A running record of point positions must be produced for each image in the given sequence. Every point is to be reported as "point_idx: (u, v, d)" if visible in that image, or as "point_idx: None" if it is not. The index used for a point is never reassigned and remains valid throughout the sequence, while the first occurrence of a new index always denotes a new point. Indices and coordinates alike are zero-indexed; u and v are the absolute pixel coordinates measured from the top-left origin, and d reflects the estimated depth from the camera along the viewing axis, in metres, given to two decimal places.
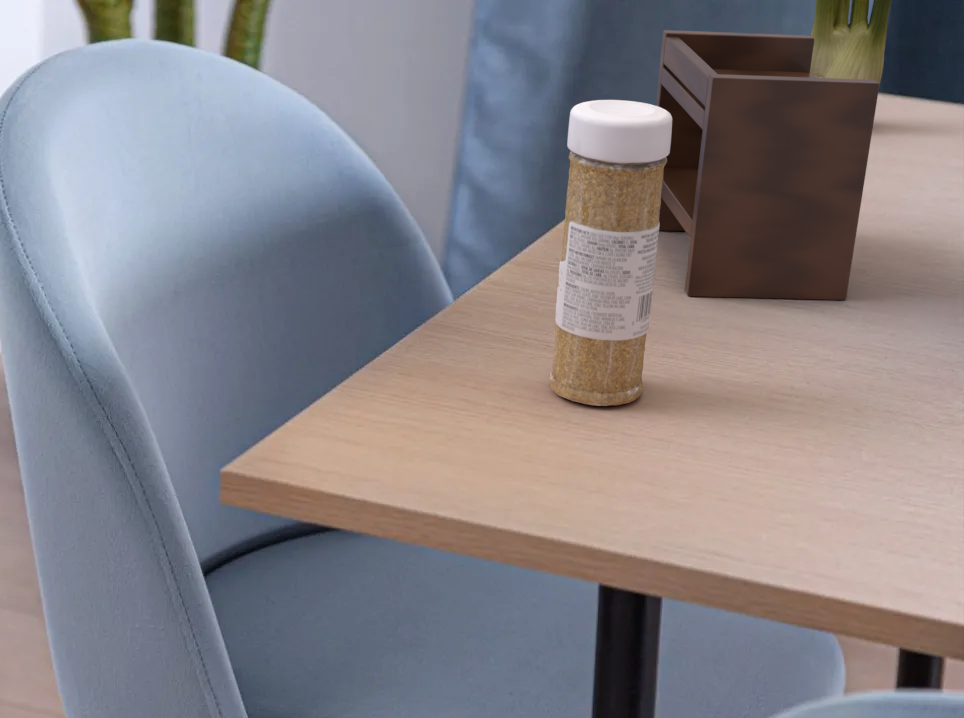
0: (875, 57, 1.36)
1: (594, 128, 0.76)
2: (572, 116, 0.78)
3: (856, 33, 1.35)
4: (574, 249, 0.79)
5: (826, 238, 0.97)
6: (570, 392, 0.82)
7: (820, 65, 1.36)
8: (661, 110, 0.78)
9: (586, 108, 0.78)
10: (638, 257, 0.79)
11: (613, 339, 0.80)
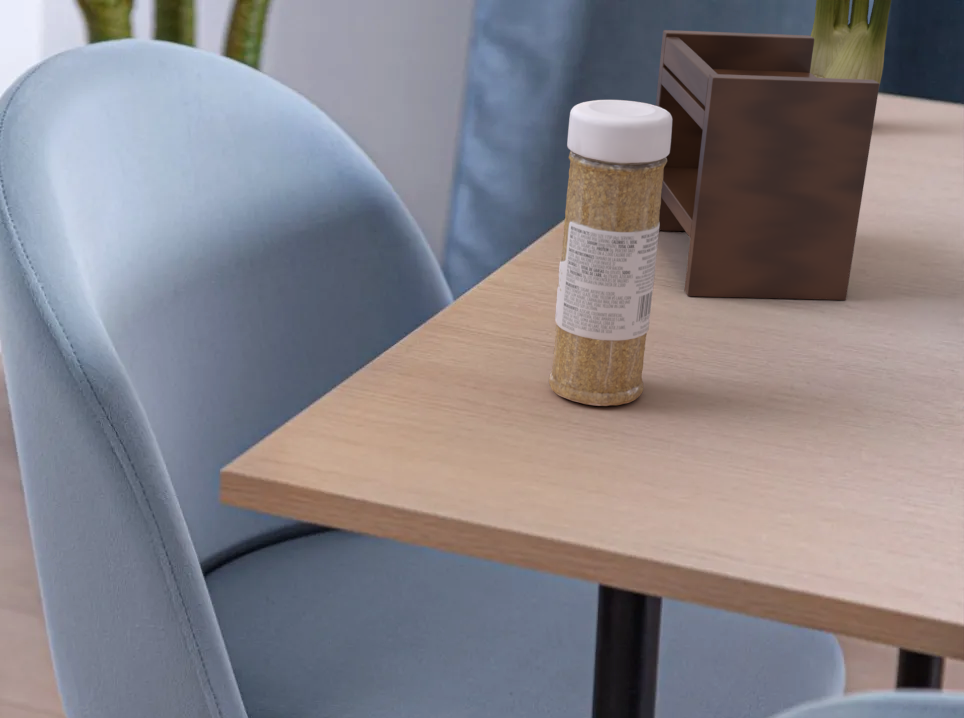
0: (875, 58, 1.36)
1: (594, 128, 0.76)
2: (572, 116, 0.78)
3: (856, 33, 1.35)
4: (574, 249, 0.79)
5: (826, 238, 0.97)
6: (570, 392, 0.82)
7: (820, 65, 1.36)
8: (661, 110, 0.78)
9: (586, 108, 0.78)
10: (638, 257, 0.79)
11: (613, 339, 0.80)
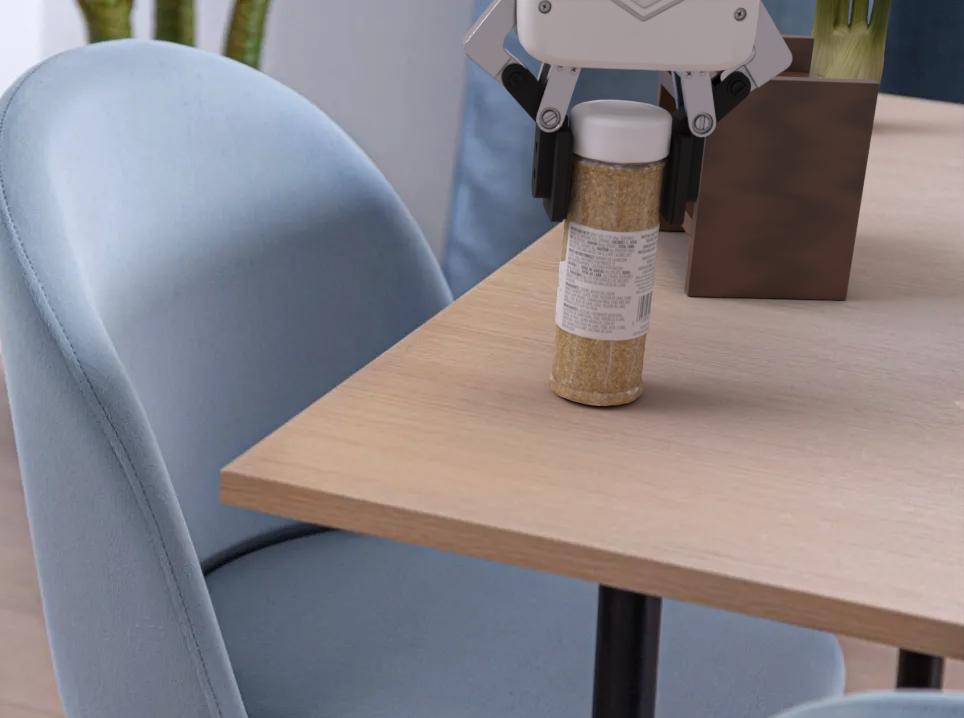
0: (875, 57, 1.36)
1: (594, 128, 0.76)
2: (571, 116, 0.78)
3: (856, 33, 1.35)
4: (574, 249, 0.79)
5: (826, 238, 0.97)
6: (570, 392, 0.82)
7: (820, 65, 1.36)
8: (661, 110, 0.78)
9: (586, 108, 0.78)
10: (638, 257, 0.79)
11: (613, 339, 0.80)
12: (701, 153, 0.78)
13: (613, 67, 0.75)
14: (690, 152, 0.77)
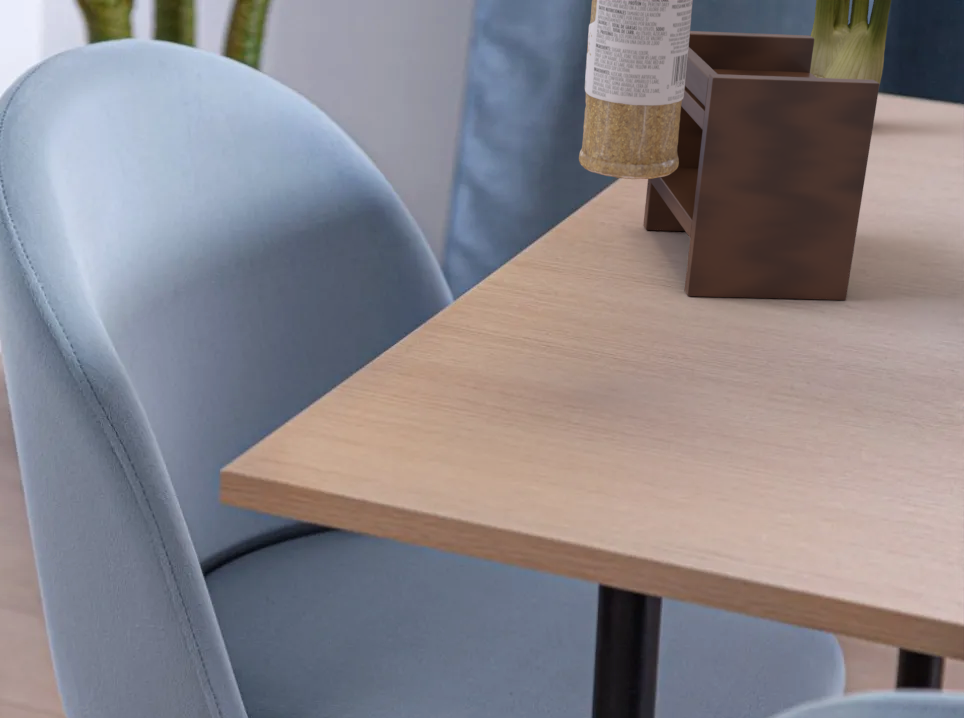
0: (875, 58, 1.36)
1: None
2: None
3: (856, 33, 1.35)
4: (605, 7, 0.75)
5: (826, 238, 0.97)
6: (602, 165, 0.78)
7: (820, 65, 1.36)
8: None
9: None
10: (672, 12, 0.74)
11: (647, 104, 0.76)
12: None
13: None
14: None
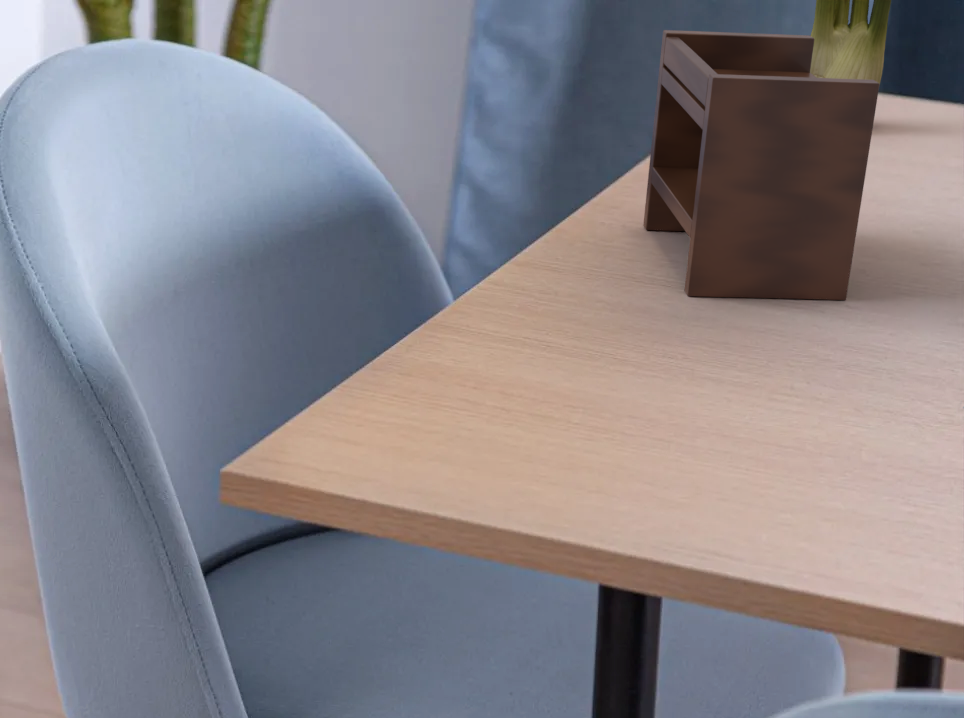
0: (875, 58, 1.36)
1: None
2: None
3: (856, 33, 1.35)
4: None
5: (826, 238, 0.97)
6: None
7: (820, 65, 1.36)
8: None
9: None
10: None
11: None
12: None
13: None
14: None
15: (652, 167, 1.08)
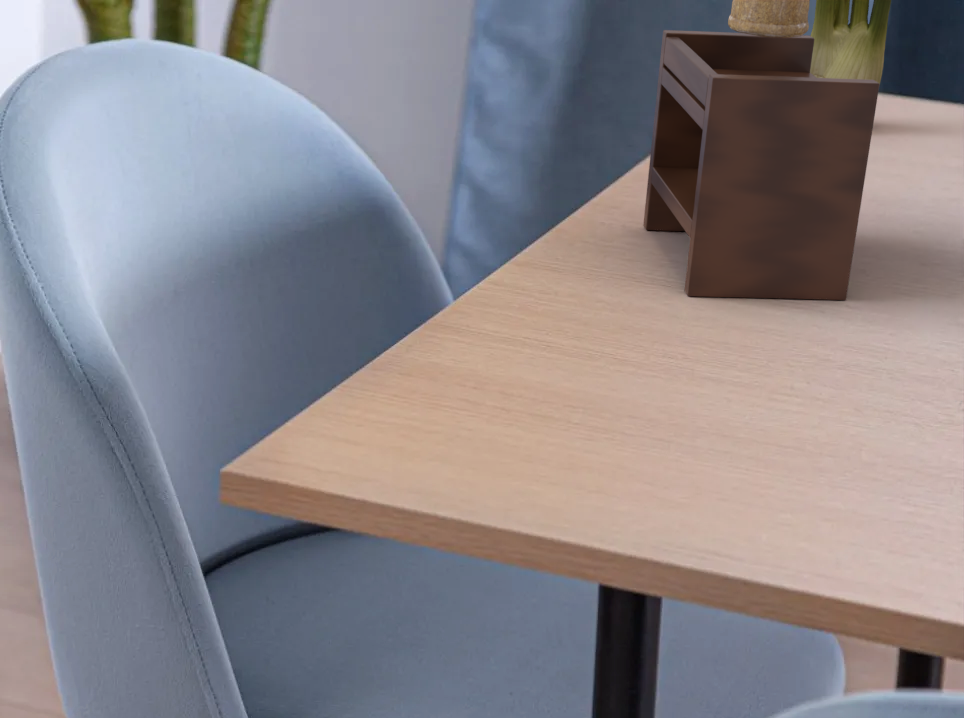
0: (875, 58, 1.36)
1: None
2: None
3: (856, 33, 1.35)
4: None
5: (826, 238, 0.97)
6: (749, 26, 0.97)
7: (820, 65, 1.36)
8: None
9: None
10: None
11: None
12: None
13: None
14: None
15: (652, 167, 1.08)
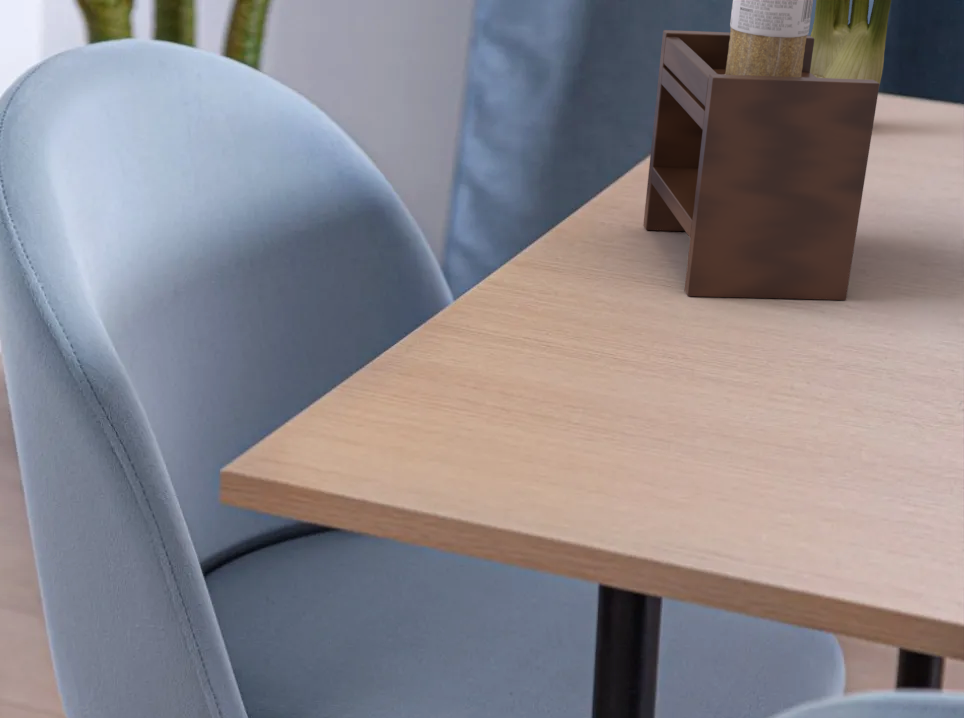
0: (875, 58, 1.36)
1: None
2: None
3: (856, 33, 1.35)
4: None
5: (826, 238, 0.97)
6: None
7: (820, 65, 1.36)
8: None
9: None
10: None
11: (782, 36, 0.97)
12: None
13: None
14: None
15: (652, 167, 1.08)
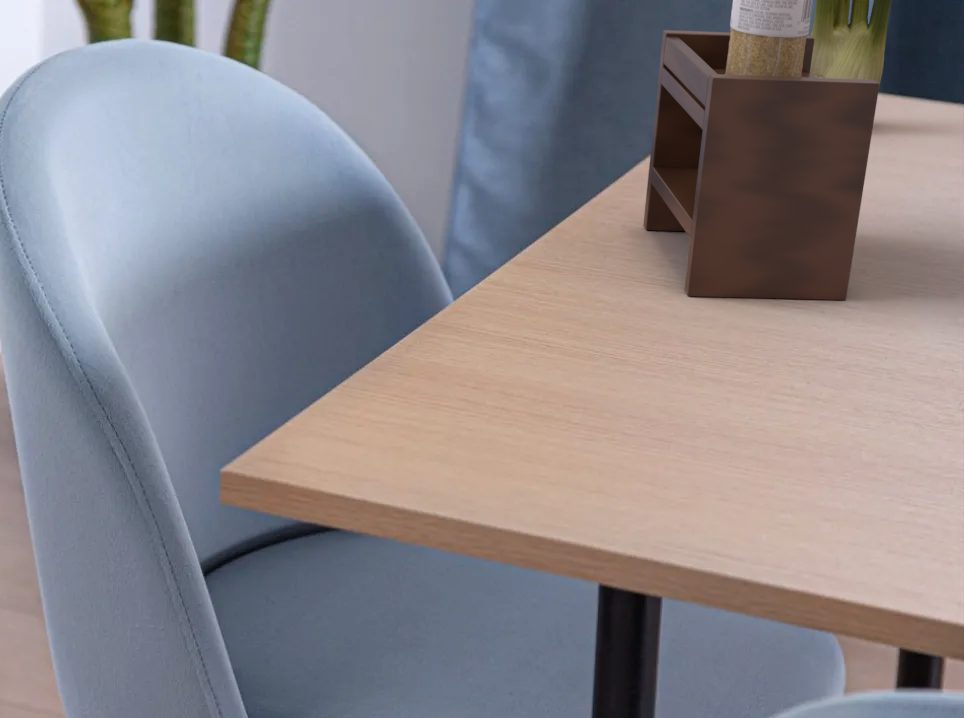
0: (875, 58, 1.36)
1: None
2: None
3: (856, 33, 1.35)
4: None
5: (826, 238, 0.97)
6: None
7: (820, 65, 1.36)
8: None
9: None
10: None
11: (782, 36, 0.97)
12: None
13: None
14: None
15: (652, 167, 1.08)
